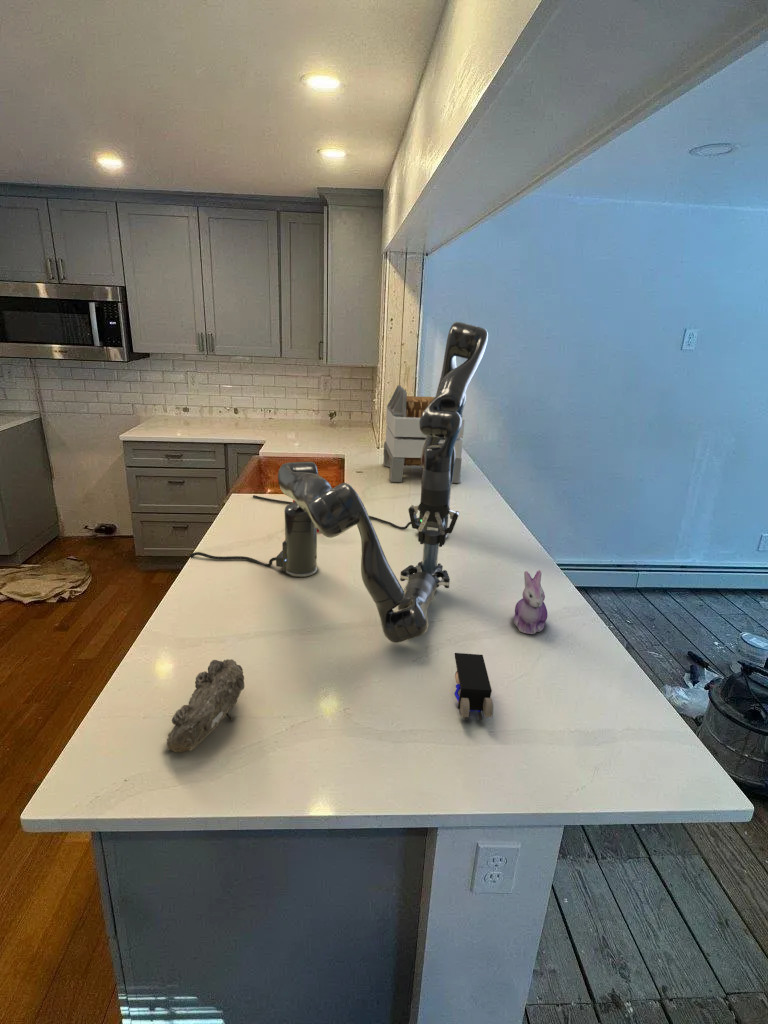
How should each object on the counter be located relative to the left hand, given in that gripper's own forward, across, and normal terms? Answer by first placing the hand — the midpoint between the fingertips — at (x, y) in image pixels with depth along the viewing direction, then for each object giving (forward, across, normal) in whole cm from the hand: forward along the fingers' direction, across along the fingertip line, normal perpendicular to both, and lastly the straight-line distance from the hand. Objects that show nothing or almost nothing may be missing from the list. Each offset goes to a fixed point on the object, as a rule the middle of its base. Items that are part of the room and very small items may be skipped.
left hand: (430, 565), depth 161 cm
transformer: (+116, +26, +7) cm, 119 cm away
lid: (-3, 0, -11) cm, 11 cm away
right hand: (-3, 0, -8) cm, 8 cm away
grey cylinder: (-3, 0, +7) cm, 7 cm away
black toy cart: (-48, -17, +7) cm, 52 cm away
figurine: (-13, -28, +7) cm, 32 cm away
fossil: (-67, +30, +7) cm, 74 cm away
